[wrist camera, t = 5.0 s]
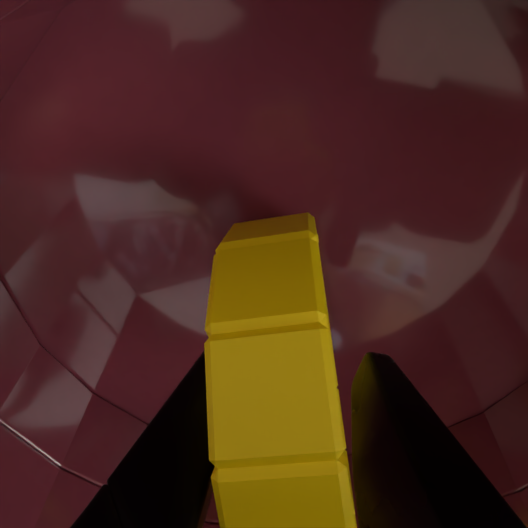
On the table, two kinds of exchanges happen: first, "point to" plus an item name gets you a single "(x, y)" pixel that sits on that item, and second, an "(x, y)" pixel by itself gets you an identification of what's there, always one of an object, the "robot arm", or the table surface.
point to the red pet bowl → (255, 212)
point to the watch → (274, 382)
